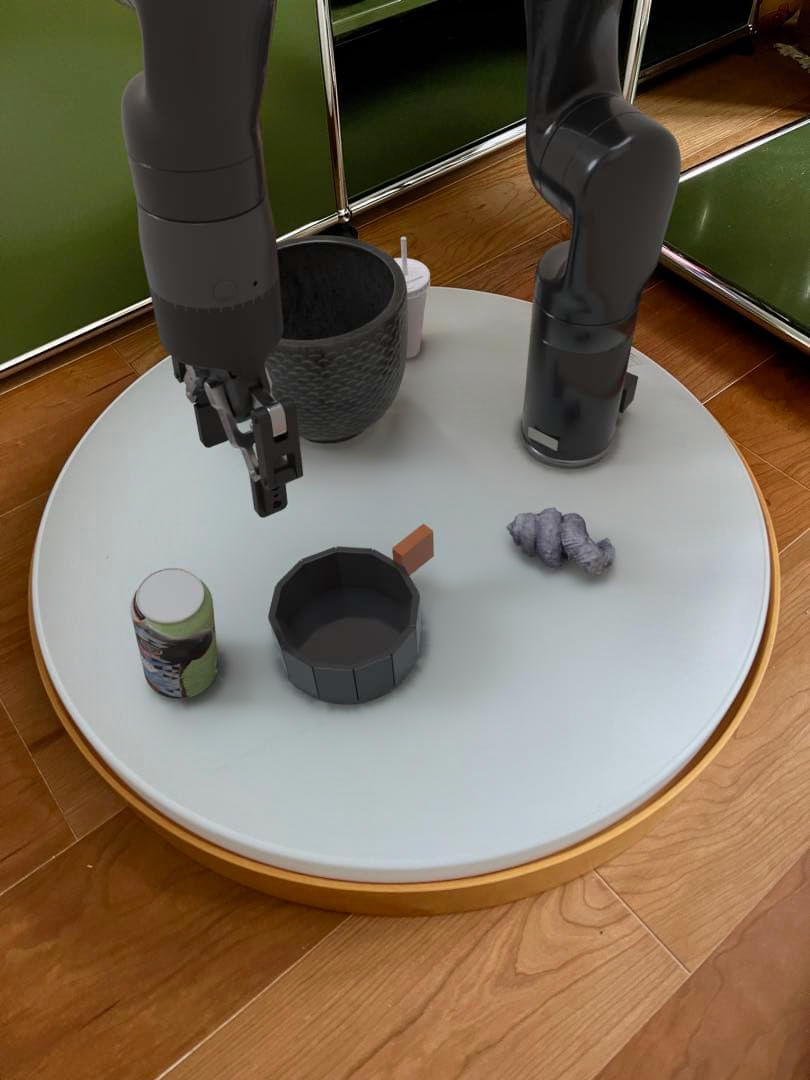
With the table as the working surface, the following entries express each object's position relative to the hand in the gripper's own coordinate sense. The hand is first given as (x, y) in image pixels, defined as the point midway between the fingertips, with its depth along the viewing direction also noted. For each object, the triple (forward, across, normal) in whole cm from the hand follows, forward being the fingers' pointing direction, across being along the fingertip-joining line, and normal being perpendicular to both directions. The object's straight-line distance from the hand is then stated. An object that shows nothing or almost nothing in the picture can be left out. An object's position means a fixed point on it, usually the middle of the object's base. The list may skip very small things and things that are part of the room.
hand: (242, 474), depth 63 cm
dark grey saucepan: (+18, -4, -7) cm, 20 cm away
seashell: (+17, -8, -26) cm, 32 cm away
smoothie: (+15, +25, -31) cm, 43 cm away
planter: (+17, +20, -19) cm, 32 cm away
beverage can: (+20, 0, +7) cm, 21 cm away
